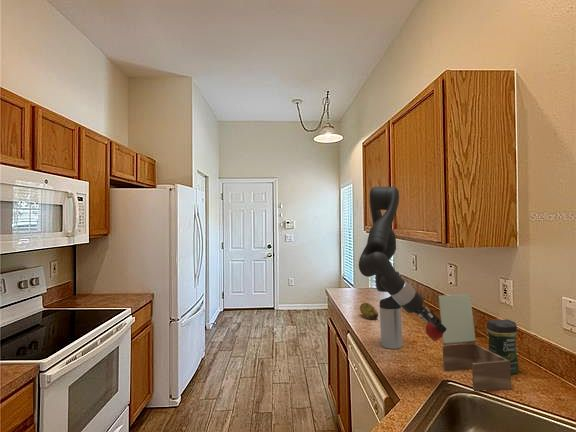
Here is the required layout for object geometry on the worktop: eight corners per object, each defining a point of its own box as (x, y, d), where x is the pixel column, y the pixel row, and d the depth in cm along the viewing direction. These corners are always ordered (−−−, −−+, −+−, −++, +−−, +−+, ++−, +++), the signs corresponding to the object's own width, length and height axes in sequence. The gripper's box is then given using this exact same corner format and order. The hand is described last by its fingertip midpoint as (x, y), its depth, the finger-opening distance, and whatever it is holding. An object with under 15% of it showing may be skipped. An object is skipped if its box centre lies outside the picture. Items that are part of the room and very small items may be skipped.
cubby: (443, 370, 134) (442, 345, 134) (475, 367, 136) (474, 343, 136) (475, 392, 116) (473, 364, 116) (511, 388, 118) (510, 361, 118)
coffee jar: (498, 376, 128) (496, 323, 128) (483, 367, 135) (482, 317, 136) (523, 374, 129) (521, 322, 129) (508, 365, 136) (506, 316, 137)
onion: (439, 337, 129) (439, 315, 129) (446, 343, 124) (446, 320, 124) (423, 338, 129) (422, 316, 129) (430, 343, 124) (429, 320, 124)
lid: (444, 345, 133) (443, 344, 134) (475, 342, 135) (474, 342, 136) (439, 296, 136) (438, 295, 137) (470, 294, 138) (468, 294, 138)
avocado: (365, 321, 203) (364, 306, 203) (358, 315, 215) (358, 301, 216) (379, 320, 203) (379, 306, 203) (372, 314, 216) (371, 301, 216)
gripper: (423, 292, 119) (458, 326, 120) (404, 284, 133) (435, 315, 134) (408, 309, 118) (443, 343, 119) (390, 299, 132) (422, 330, 134)
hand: (439, 328), depth 127 cm, fingers closed on onion, 5 cm apart
